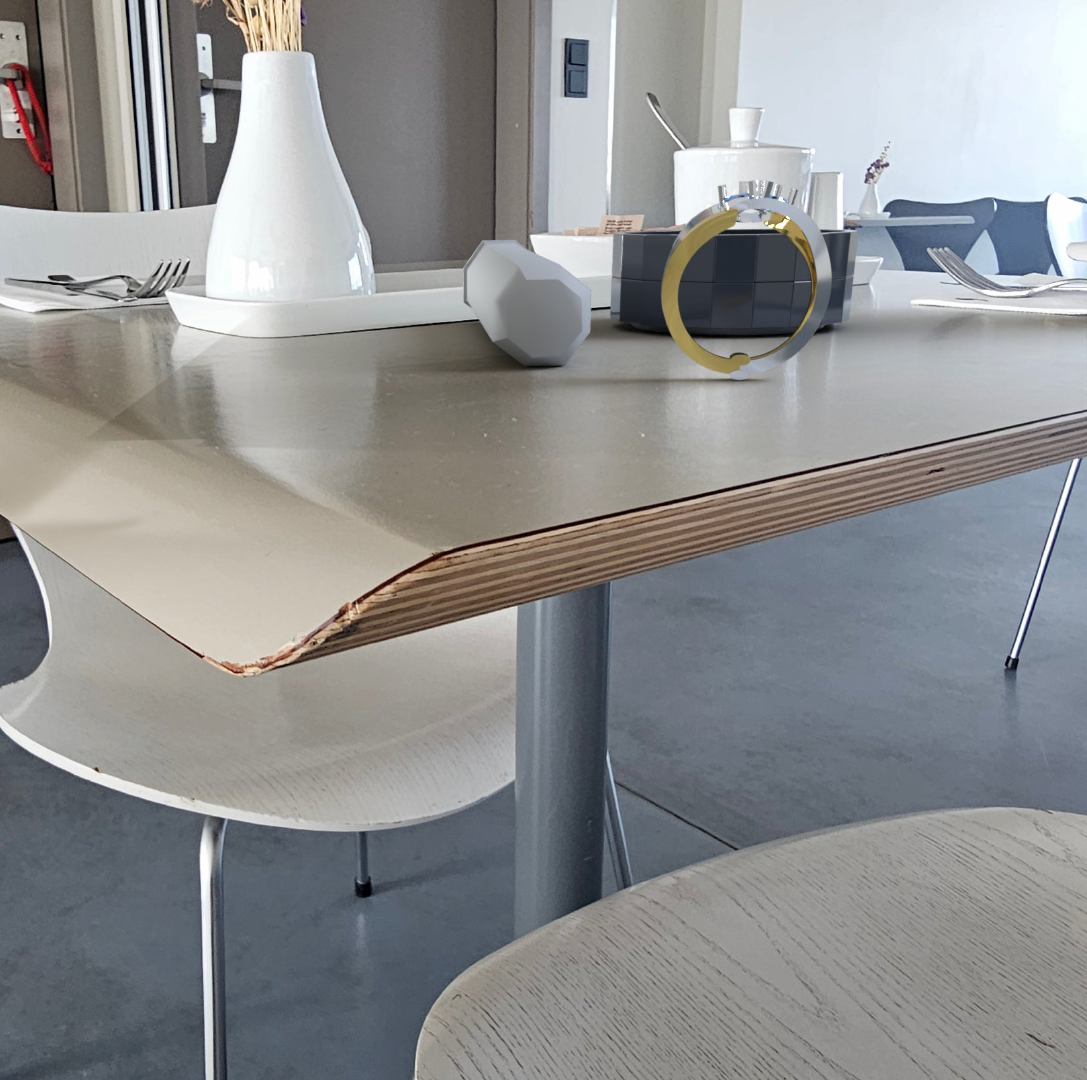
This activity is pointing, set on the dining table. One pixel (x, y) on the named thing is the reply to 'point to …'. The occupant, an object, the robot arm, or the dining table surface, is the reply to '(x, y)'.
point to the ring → (725, 216)
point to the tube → (527, 303)
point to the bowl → (728, 281)
